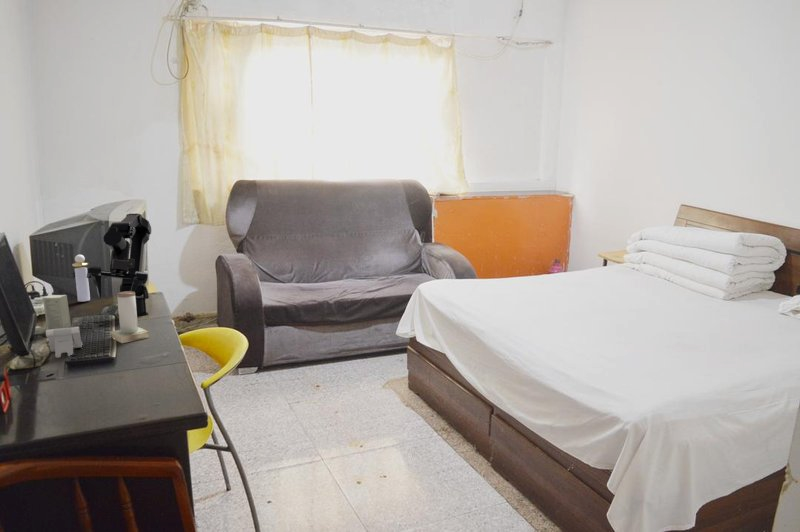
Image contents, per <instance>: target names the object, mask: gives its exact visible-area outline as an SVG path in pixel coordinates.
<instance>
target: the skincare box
mask: <svg viewBox="0 0 800 532" xmlns="http://www.w3.org/2000/svg"><path fill="white" fill-rule="evenodd" d="M42 301H43V307H44V308H43V309H44V314H45V315H44V316H45V322H46V327H47V329H46V330H51V329H61V328H71V327H72V322H71V316H70V311H69V310H70V309H69V303H68V295H67V294H50V295H47V296H43V297H42Z"/></svg>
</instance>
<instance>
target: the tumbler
mask: <svg viewBox="0 0 800 532" xmlns="http://www.w3.org/2000/svg"><path fill="white" fill-rule="evenodd" d="M116 299H117V309H118V311H117V312H118V320H119V321H118V322H119V330H120V332H121V333H134V332H137V331H138V327H139V325H138V316H137V311H136V299H135V292H134V291H124V292H120V291H119V292H118V293H116Z"/></svg>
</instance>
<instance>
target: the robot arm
mask: <svg viewBox="0 0 800 532" xmlns="http://www.w3.org/2000/svg"><path fill="white" fill-rule="evenodd" d="M151 235H152V226H151V223H150V221H149V220H147V219H146V218H145V217H143V215H142V214H140V213H128V214H127V213H126V216H125V217H124V218H123V219H122V220H121V221H114V222H112V223H111V224H110V226H109V227H108V229H107V231H106V233H105V234H104V236H103V242H104V243H105V245H106V246H107V247H108V248H109V249H110V250H111V253H110V261H109V270H102V267H101V266H92V265H90V266H88V267H87V278H88V279H90V281H91V282H94V285H95V288H96V290H97V295H98V298H99V299H101V297H102V277H104V278H105V277H106V278H116V279H121V284H120V286H119V292H124V291H134V292H135V299H136V311H137V317H141V316H146V315H149V312H147V305H146V304H147V303H146V301H147V299H150V296H149V291H148V288H147V286H146V283H147V281H148V278H149V274H148V273H147V272H146V271H142V268H143V261H144V259H143V258H144V252H145V251H144V249H145V245H146V244H147V242H148V241H149V240H150V236H151ZM126 239H129V240H130V241H131V243H130V242H129V241H128V240H126Z"/></svg>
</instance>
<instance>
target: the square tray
mask: <svg viewBox="0 0 800 532" xmlns="http://www.w3.org/2000/svg"><path fill="white" fill-rule="evenodd" d="M109 334H111V335H112V336H113V337H114V338H115V340H114V341H116V342H119V343H120V344H125V343H129V342H134V341H138V340H143V339H147V338H148V339H149V338H150V331H148V330H146V329H145V328H142V327H139V326H138V331H137V332H134V333H121V332H120V329H118V330H114V331H113V330H112V331H110V332H109Z"/></svg>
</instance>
